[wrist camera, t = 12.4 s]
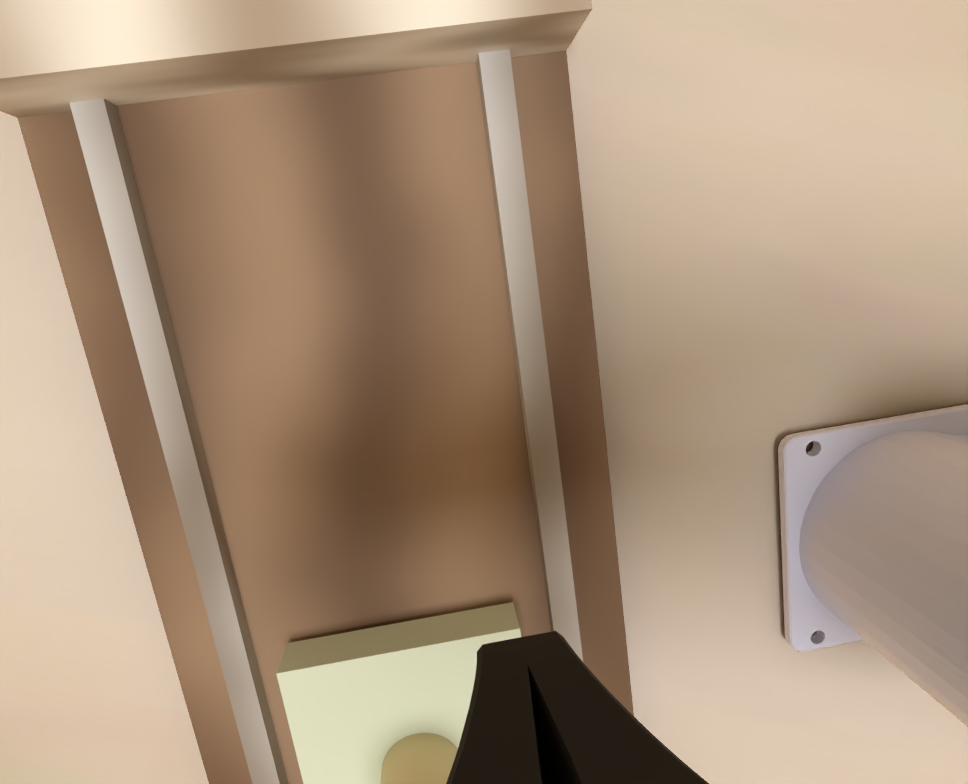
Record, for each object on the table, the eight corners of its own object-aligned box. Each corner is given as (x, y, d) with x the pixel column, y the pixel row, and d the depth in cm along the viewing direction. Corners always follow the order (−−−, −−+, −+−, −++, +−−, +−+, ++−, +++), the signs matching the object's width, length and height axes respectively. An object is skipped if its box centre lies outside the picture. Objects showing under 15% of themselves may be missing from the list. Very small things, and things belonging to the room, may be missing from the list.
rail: (540, -100, 16) (575, -212, 12) (641, 860, 22) (682, 974, 19) (-4, -42, 15) (-144, -144, 11) (270, 939, 21) (238, 1075, 18)
